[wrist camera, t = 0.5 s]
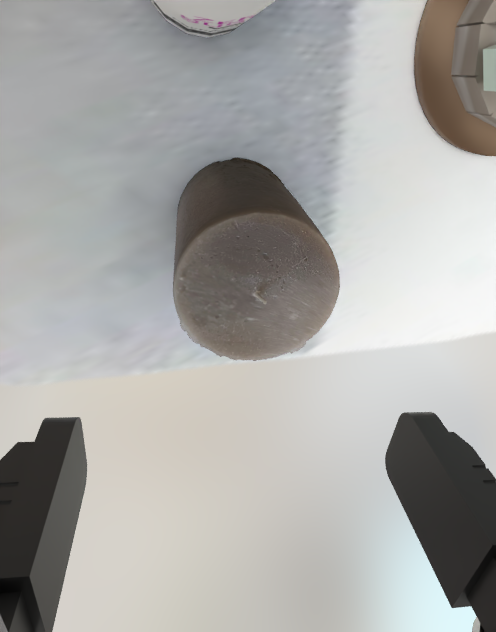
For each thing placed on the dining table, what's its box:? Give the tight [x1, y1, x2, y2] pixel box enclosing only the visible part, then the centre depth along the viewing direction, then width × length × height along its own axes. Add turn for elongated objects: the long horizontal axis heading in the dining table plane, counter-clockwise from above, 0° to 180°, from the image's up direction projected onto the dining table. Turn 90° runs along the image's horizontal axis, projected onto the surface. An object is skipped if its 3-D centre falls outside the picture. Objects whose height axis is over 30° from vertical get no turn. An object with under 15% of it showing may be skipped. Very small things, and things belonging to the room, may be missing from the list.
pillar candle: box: [173, 158, 340, 361], centre depth 30 cm, size 10×10×15 cm
